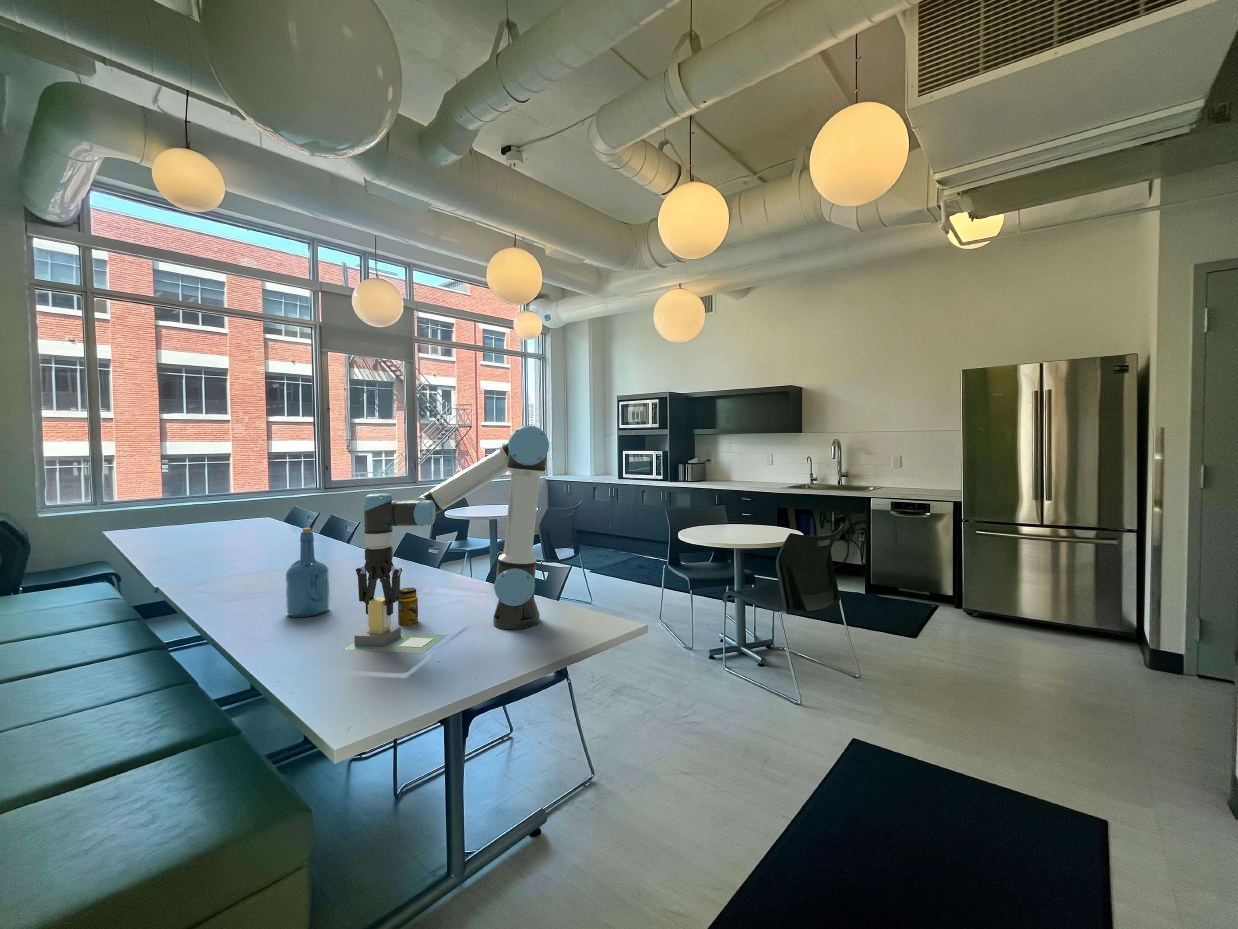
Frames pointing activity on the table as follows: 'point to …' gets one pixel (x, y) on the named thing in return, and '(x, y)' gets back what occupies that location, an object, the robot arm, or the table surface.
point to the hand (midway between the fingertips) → (379, 625)
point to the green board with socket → (394, 641)
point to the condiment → (408, 607)
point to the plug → (376, 616)
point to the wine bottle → (307, 582)
